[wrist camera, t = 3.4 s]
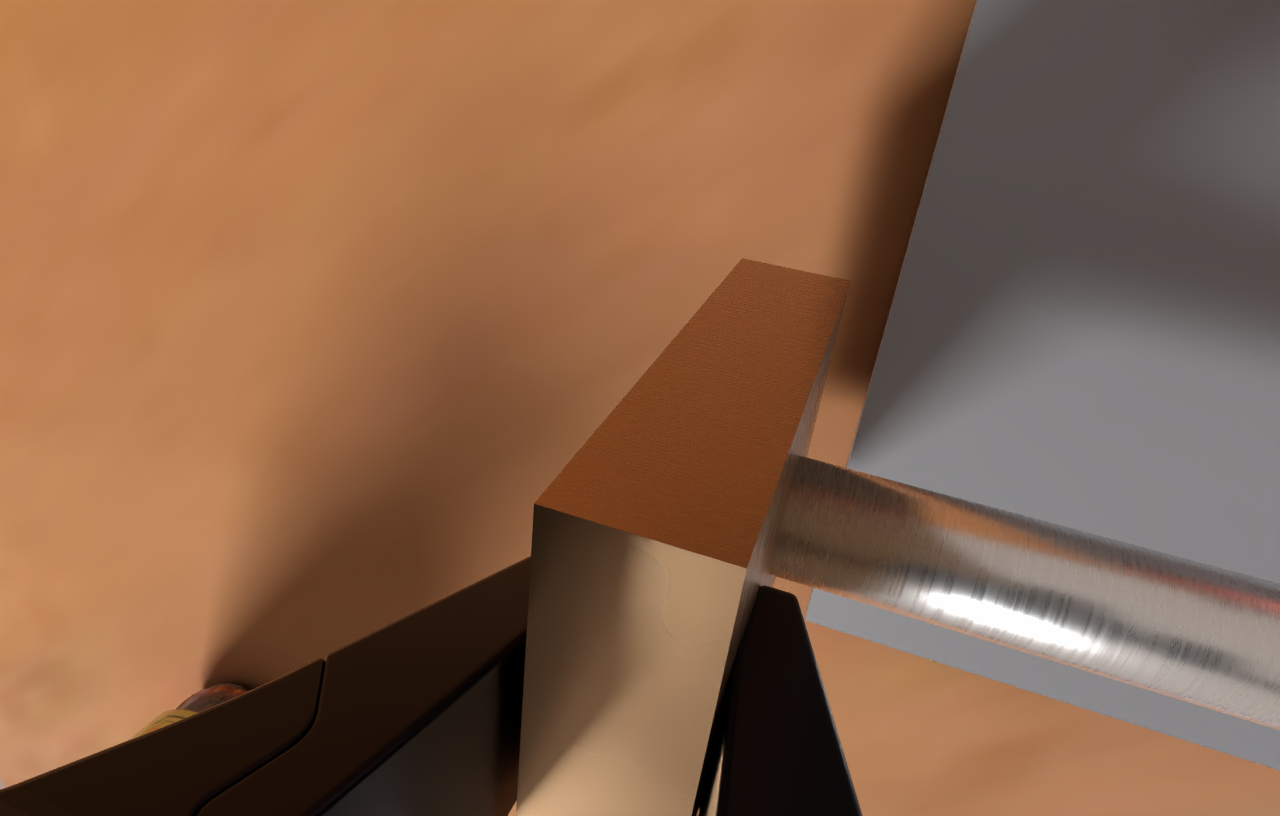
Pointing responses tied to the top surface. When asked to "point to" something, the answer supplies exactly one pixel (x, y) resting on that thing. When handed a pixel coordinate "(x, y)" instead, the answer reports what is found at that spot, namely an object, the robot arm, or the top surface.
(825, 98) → the top surface
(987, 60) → the mounting plate
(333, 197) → the top surface
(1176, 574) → the locking pin
